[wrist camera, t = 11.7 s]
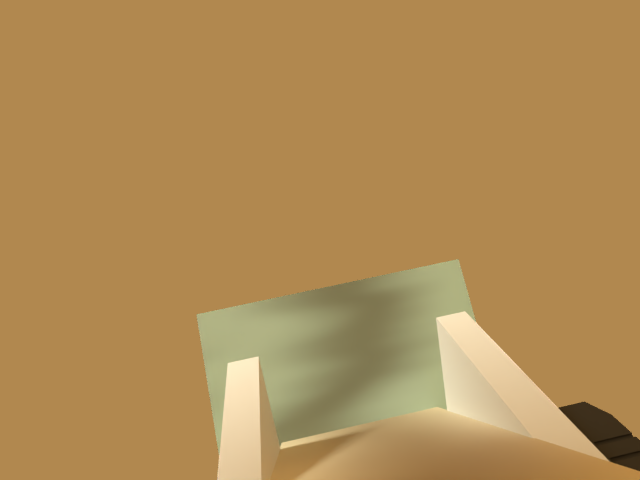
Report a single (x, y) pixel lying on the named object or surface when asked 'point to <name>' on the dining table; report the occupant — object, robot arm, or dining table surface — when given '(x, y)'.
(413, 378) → the beige and green blocks
